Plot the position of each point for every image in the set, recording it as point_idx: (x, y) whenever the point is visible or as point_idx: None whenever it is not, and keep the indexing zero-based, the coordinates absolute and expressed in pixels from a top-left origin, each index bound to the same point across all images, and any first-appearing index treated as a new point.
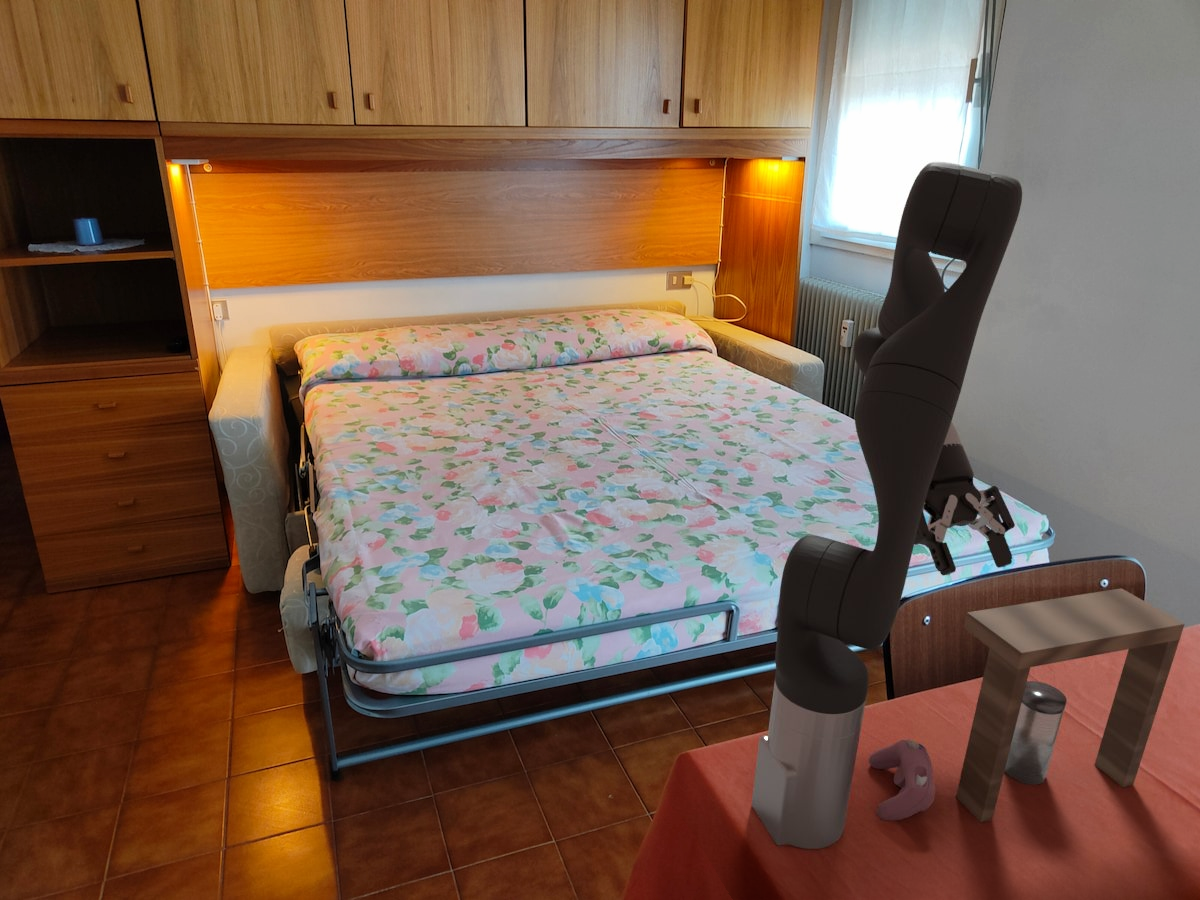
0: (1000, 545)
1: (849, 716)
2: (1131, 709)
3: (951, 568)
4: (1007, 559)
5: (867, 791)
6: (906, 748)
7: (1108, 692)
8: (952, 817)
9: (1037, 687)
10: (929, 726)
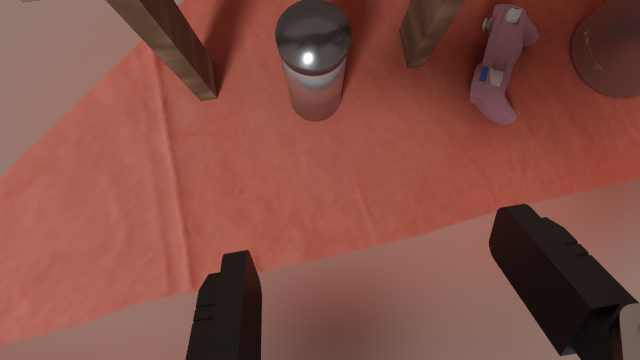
0: (242, 320)
1: None
2: (170, 13)
3: (526, 206)
4: (243, 255)
5: (525, 83)
6: (510, 66)
7: (78, 236)
8: (442, 38)
9: (310, 51)
10: (393, 187)
